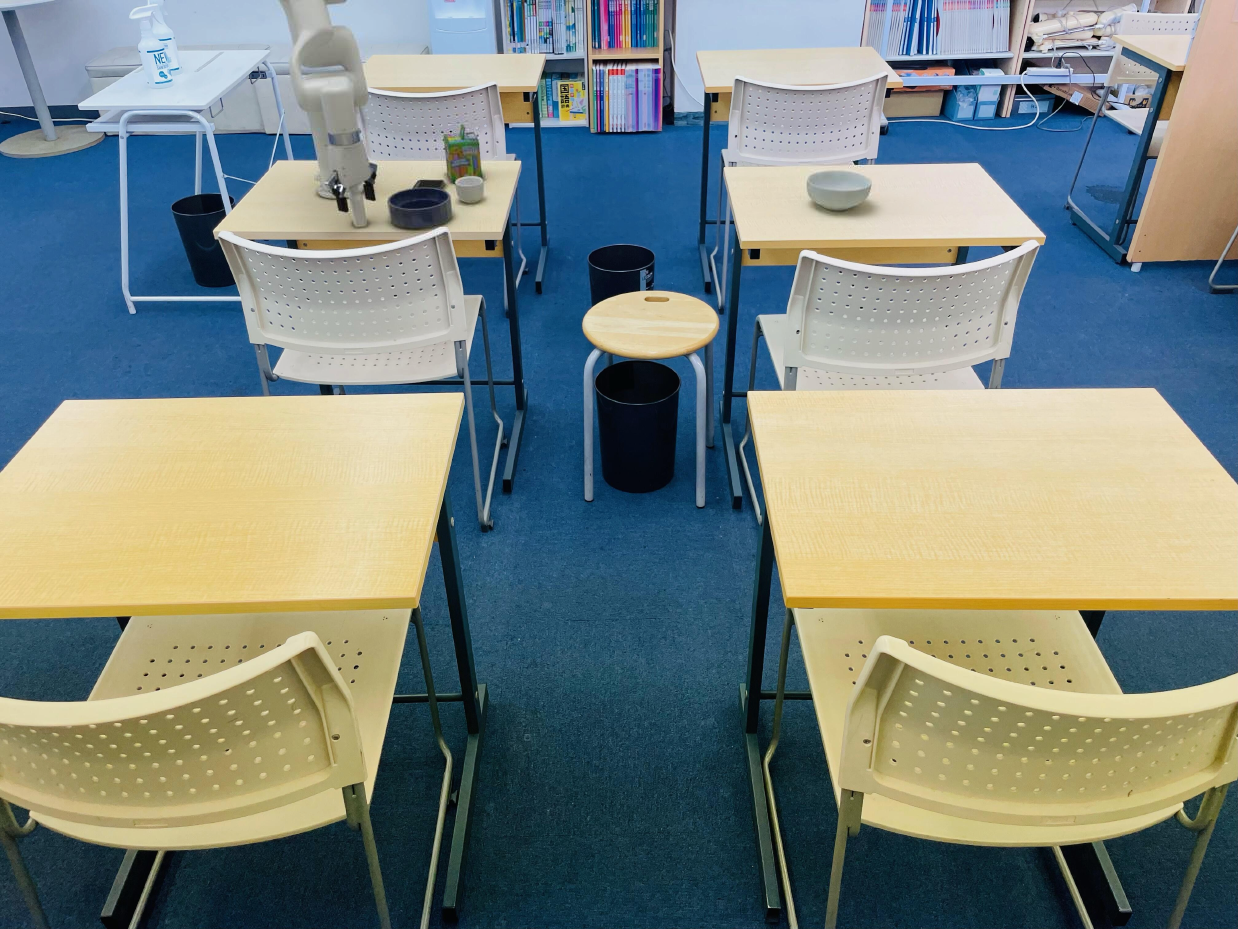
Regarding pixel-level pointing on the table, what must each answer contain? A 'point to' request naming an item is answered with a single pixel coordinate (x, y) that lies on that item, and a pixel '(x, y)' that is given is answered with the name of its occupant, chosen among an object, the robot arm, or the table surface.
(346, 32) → the robot arm
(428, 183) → the phone
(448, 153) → the chalk box
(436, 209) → the bowl
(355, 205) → the eye dropper bottle
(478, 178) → the teacup
